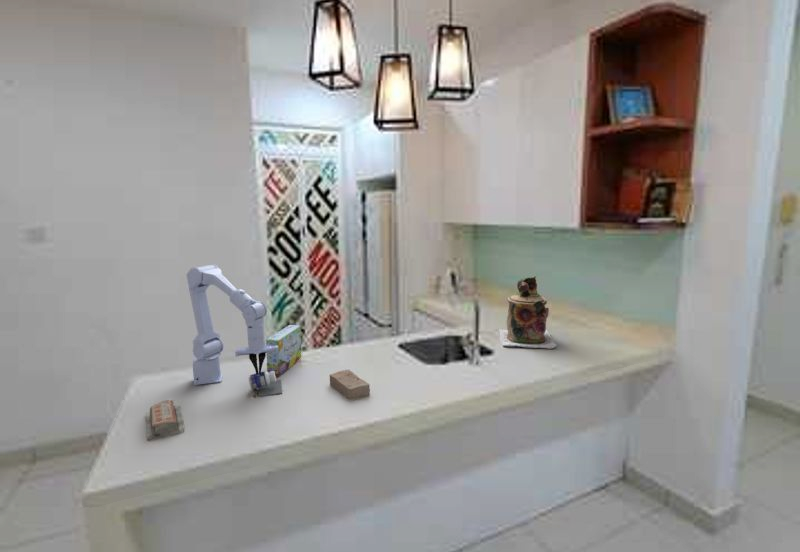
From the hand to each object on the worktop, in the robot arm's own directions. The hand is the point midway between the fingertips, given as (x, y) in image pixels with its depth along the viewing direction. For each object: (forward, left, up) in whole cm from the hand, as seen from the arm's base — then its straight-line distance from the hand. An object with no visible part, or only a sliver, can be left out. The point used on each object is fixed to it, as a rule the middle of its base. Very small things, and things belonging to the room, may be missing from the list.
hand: (258, 372), depth 162 cm
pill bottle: (-3, 0, -3) cm, 5 cm away
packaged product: (-28, -17, -7) cm, 33 cm away
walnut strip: (-1, 0, -6) cm, 7 cm away
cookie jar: (+123, +20, -7) cm, 125 cm away
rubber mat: (+4, 0, -6) cm, 7 cm away
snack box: (+10, +20, -7) cm, 23 cm away
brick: (+31, -9, -7) cm, 33 cm away
